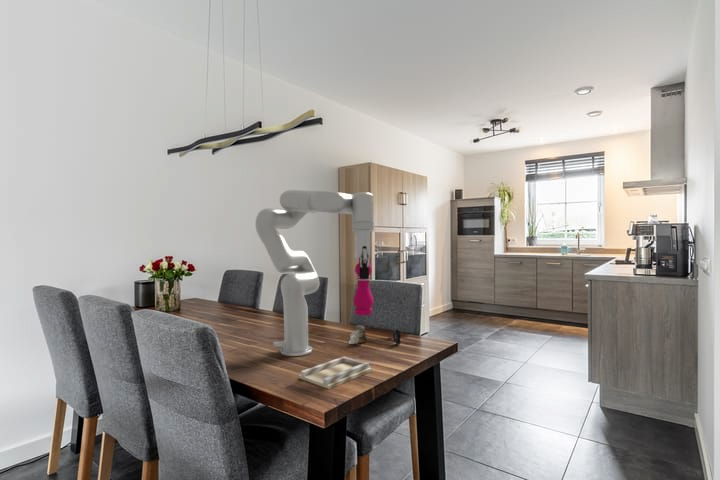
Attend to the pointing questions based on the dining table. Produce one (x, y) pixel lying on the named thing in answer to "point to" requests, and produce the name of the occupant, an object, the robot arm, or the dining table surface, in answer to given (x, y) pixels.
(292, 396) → the dining table surface
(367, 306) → the pepper mill
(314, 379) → the rail board
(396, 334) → the artificial flower
